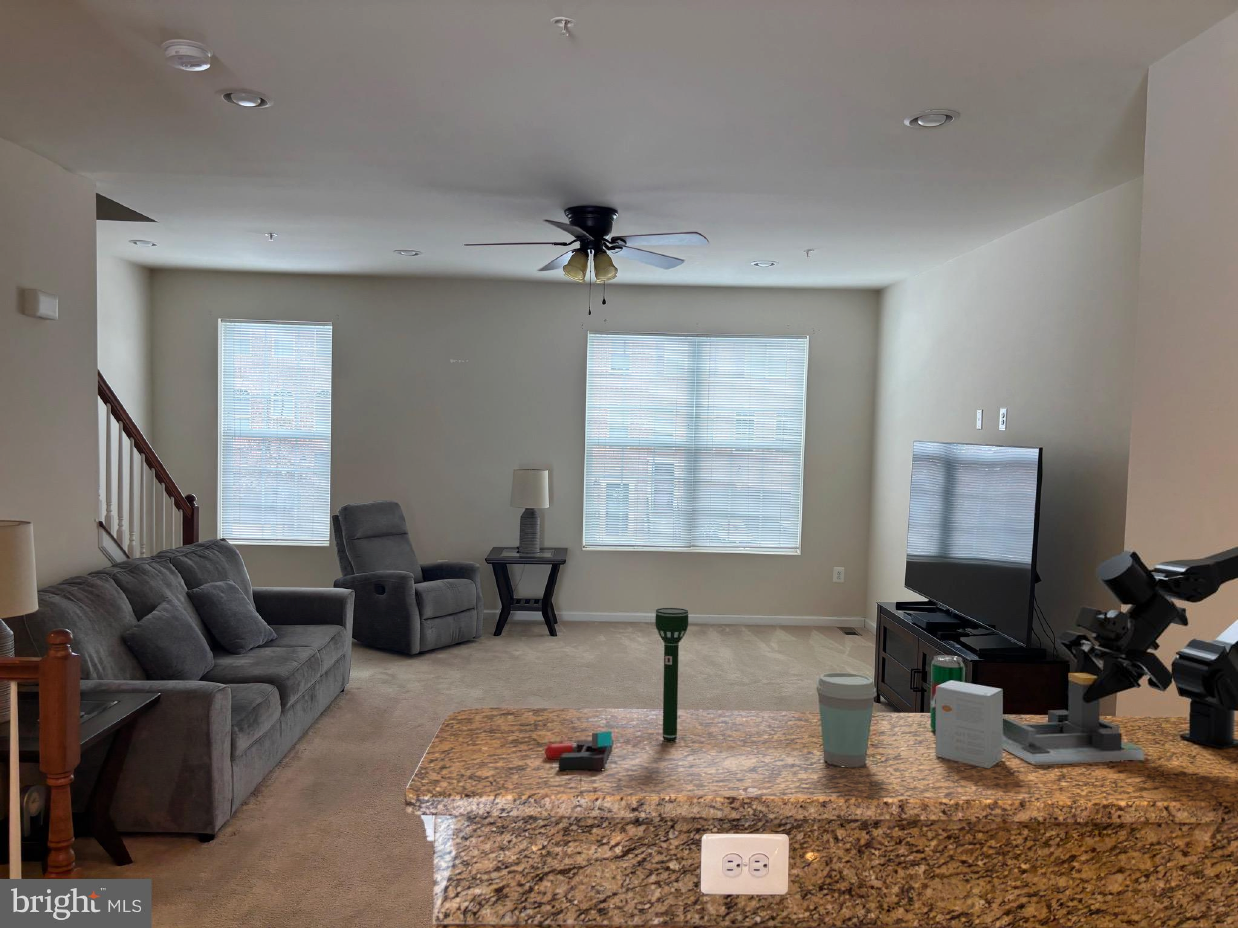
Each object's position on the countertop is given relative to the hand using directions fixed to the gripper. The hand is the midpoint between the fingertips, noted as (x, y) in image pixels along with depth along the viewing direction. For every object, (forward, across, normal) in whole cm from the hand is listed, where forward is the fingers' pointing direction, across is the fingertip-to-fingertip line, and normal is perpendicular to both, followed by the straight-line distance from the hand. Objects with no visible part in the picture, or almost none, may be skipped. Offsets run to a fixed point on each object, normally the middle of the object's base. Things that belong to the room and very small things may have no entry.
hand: (1077, 697), depth 135 cm
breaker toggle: (+3, 0, +5) cm, 6 cm away
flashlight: (+49, -11, -38) cm, 63 cm away
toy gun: (+60, -5, -48) cm, 77 cm away
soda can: (+17, -10, -6) cm, 20 cm away
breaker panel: (+7, 0, +3) cm, 8 cm away
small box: (+20, +2, -8) cm, 21 cm away
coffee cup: (+33, +1, -22) cm, 39 cm away
